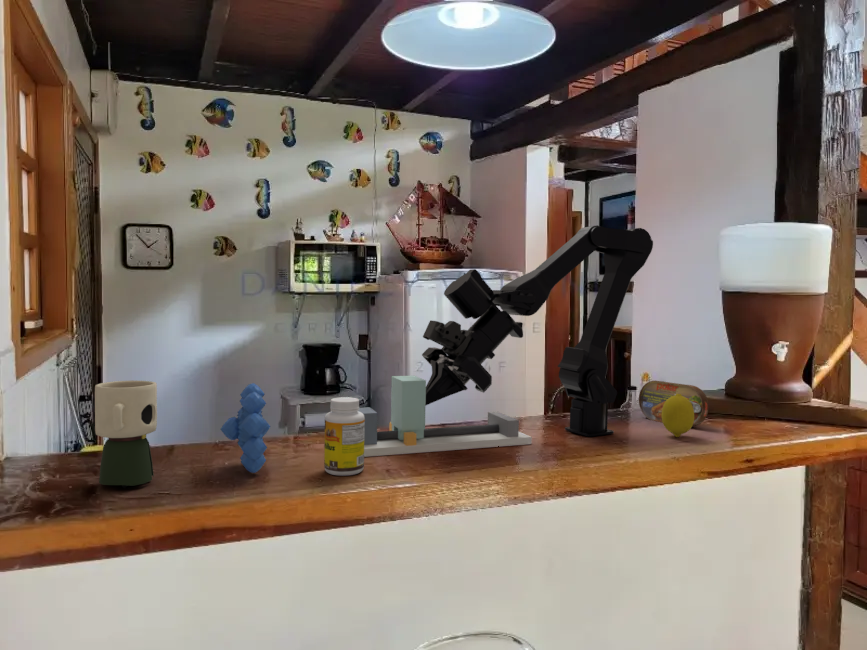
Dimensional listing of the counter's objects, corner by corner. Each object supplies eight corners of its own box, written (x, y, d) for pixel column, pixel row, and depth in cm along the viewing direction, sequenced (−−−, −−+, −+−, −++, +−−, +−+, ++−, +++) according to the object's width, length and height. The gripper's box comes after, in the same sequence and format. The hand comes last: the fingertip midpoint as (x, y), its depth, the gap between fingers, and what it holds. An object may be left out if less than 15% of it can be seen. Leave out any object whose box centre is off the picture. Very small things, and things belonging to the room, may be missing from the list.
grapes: (220, 460, 91) (220, 379, 91) (267, 457, 93) (267, 378, 93) (220, 483, 80) (220, 392, 80) (273, 479, 82) (274, 390, 82)
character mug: (149, 496, 75) (148, 389, 74) (84, 500, 73) (82, 391, 72) (163, 470, 85) (163, 377, 85) (106, 473, 83) (106, 378, 83)
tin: (637, 417, 131) (638, 377, 130) (646, 416, 132) (648, 377, 132) (700, 431, 118) (702, 387, 117) (710, 429, 119) (712, 386, 119)
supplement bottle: (320, 467, 88) (320, 397, 88) (357, 464, 90) (358, 395, 90) (329, 478, 83) (330, 403, 83) (368, 474, 85) (369, 401, 85)
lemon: (658, 438, 111) (660, 394, 111) (663, 432, 116) (664, 390, 116) (692, 442, 108) (693, 397, 108) (694, 436, 113) (696, 392, 113)
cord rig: (504, 431, 114) (505, 398, 114) (531, 444, 105) (532, 407, 104) (344, 442, 104) (345, 405, 103) (358, 457, 94) (359, 417, 94)
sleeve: (413, 431, 106) (414, 375, 105) (424, 439, 100) (425, 380, 100) (390, 432, 104) (391, 376, 104) (401, 440, 99) (402, 381, 98)
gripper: (433, 303, 113) (374, 364, 109) (475, 305, 95) (406, 378, 92) (472, 346, 116) (415, 406, 112) (519, 355, 98) (453, 427, 95)
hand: (420, 403), depth 103 cm, fingers closed, pressing on sleeve
